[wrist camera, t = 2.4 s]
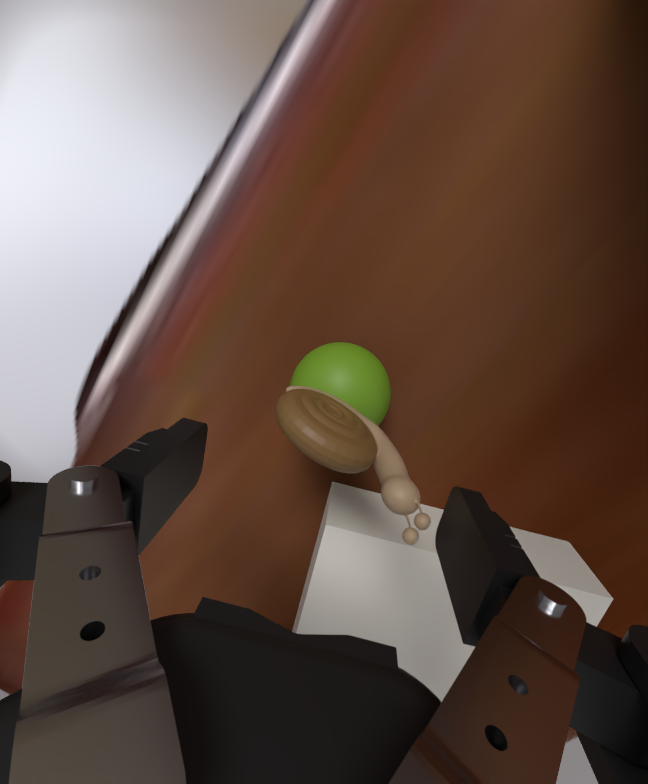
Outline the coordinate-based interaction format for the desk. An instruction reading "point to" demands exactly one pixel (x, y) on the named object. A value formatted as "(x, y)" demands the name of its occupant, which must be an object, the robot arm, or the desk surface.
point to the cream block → (410, 584)
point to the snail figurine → (348, 423)
